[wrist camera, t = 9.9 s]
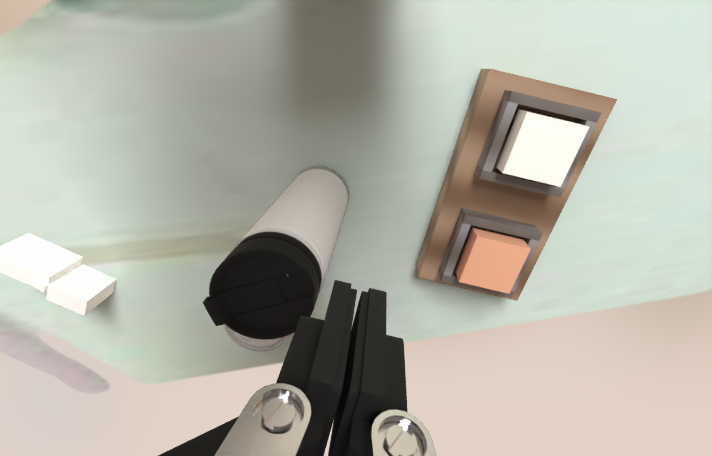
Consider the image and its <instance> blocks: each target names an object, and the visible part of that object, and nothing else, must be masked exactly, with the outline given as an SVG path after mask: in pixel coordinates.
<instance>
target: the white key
mask: <svg viewBox="0 0 712 456" xmlns="http://www.w3.org/2000/svg"><path fill="white" fill-rule="evenodd" d="M588 129H589V126H585V125H581V124H577V123H573V122H569V121H565V120H561V119H557V118H552V117H548V116H544V115H540V114H536V113H531V112H527V111H523V110H518V112H517V115H516V118H515V120H514V123H513V125H512V128H511V130H510V133H509V135H508V138H507V140H506V143H505V146H504V148H503V151H502V153H501V156H500V158H499V161H498V163H497V166H496V168H497V169H499V170H500V171H501V172H502V173H504V174H508V175H513V176H517V177H521V178H525V179H529V180H534V181H538V182H542V183H546V184H550V185H555V186H559V187H561V185H562V183H563V181H564V179H565V177H566V175H567V173H568V171H569V169H570V167H571V164H572V162H573V160H574V158H575V156H576V154H577V152H578V150H579V148H580V146H581V144H582V142H583V140H584V137H585V135H586V133H587V131H588Z"/></svg>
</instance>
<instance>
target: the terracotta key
mask: <svg viewBox="0 0 712 456" xmlns="http://www.w3.org/2000/svg"><path fill="white" fill-rule="evenodd" d="M530 250H531V249H530V247H529V246H528V245H527V244H526V242H525V241H524V240H523V239H519V238H515V237H511V236H506V235H502V234H498V233H494V232H489V231H485V230H481V229H477V228H472V230H471V233H470V235H469V238H468V240H467V243H466V245H465V248H464V250H463V253H462V256H461V258H460V261H459V263H458V266H457V268H456V271H455V272H456V275H457V278H458V281H459V282H461V283H465V284H469V285H474V286H478V287H482V288H486V289H491V290H495V291H499V292H504V293H508V294H509V293H510V291H511V289H512V287H513V285H514V283H515V281H516V279H517V277H518V275H519V273H520V271H521V268H522V266H523V264H524V262H525V260H526V258H527V256H528V254H529V252H530Z"/></svg>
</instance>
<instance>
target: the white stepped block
mask: <svg viewBox="0 0 712 456" xmlns="http://www.w3.org/2000/svg"><path fill="white" fill-rule="evenodd" d="M82 260H83V257H82V256H79V255H77V254H75V253H73V252H70V251H68V250H66V249H64V248H61V247H59V246H57V245H55V244H52V243H50V242H48V241H46V240H43V239H41V238H39V237H37V236H34V235H32V234H30V233H28V234H26V235H24V236H22V237H19V238H17V239H15V240H13V241H10V242H8V243H6V244H4V245H1V246H0V273H3V274H5V275H7V276H10V277H12V278H14V279H17V280H19V281H22V282H24V283H26V284H29V285H31V286H33V287H35V289H38V290H40V291H42V292H47V298H46V300H48V301H51V302H53V303H55V304H58V305H60V306H63V307H65V308H67V309H70V310H72V311H74V312H77V313H79V314H81V315H86V314H87V313H88V312H89V311H91V310H92V309H93V308H95V307H96V306H97V305H98V304H100V303H101V302H102V301H103V300H105V299H106V298H107V297H108V296H110V295H111V294H112V293H113V291H114V287H115V283H116V279H115V278H112V277H110V276H108V275H105V274H103V273H101V272H99V271H96V270H94V269H92V268H90V267H87V266H85V265H83V264H82Z"/></svg>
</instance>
